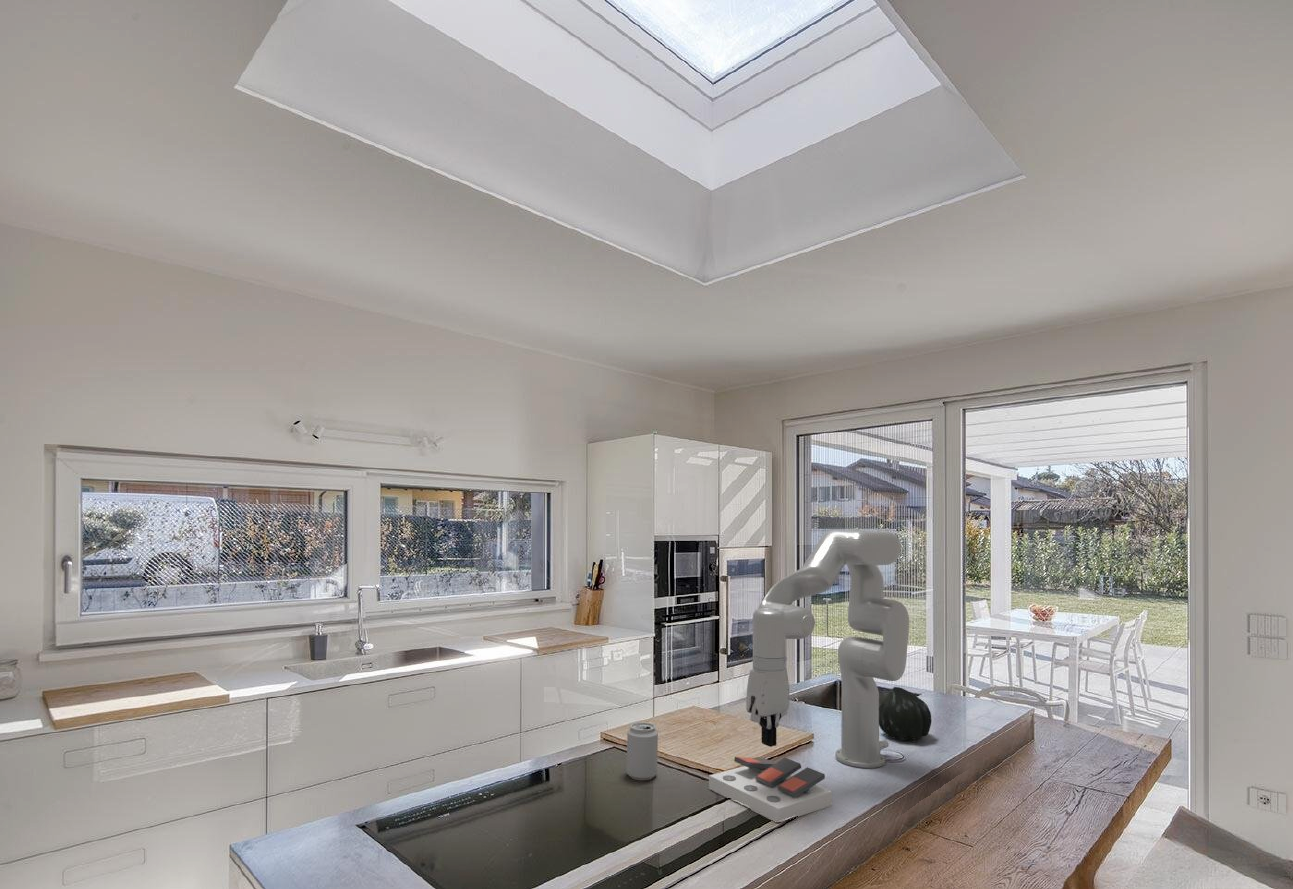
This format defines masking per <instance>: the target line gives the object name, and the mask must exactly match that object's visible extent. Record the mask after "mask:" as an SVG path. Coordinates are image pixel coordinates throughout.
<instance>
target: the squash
mask: <svg viewBox="0 0 1293 889" xmlns="http://www.w3.org/2000/svg"><path fill="white" fill-rule="evenodd" d="M930 710H931V709H930V708H929V705H928V704H927V703H926V702H925V701H924V700H923V699H921V698H920V697H918V696H917V695H916V694H914V693H913V692H911V691H909V690H907V689H905V688H903V687H900V686H899V687H898V686H894V687H892V688H891V690H890V691H889V693H888V694H887V695H886V696H885V697H884V699H883V700H882V701H881V702H880V704H879V729H881V731H883V733H884V734H886V735H887V736H888V738H889V737H890V738H892V739H899V740H900V741H902V742H907V741H908V740H909V741H910V742H917V741H919V740H920V739H921V738H925V737H926V736H928V735H929V733H930V729H931V726H932V714H931V713H932V712H931V711H930Z"/></svg>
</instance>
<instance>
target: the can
mask: <svg viewBox="0 0 1293 889" xmlns="http://www.w3.org/2000/svg"><path fill="white" fill-rule="evenodd" d="M626 735H627V736H626V738H627V740H626V769H625V770H626V771H625V772H626V774H627V775H628V776H629V777H630V778H631V779H633V780H637V781H649V780H652V779H654V777H655V776H656V775H657V774H658V752H659V751H658V749H659V748H658V747H659V746H658V745H659V732H658V730H657V729H656V725H655V724H654V723H652V722H648V721H647V722H646V721H645V722H644V721H640V722H633V723H631V724H630V728H628V731H627V734H626Z"/></svg>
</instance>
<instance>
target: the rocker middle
mask: <svg viewBox="0 0 1293 889" xmlns="http://www.w3.org/2000/svg"><path fill="white" fill-rule="evenodd" d="M774 763H775V764H773V765H772V766H770V767H769V768H767V769H766V770H764V771H763V772H761V773H760V774H758V775H757V776H755V778H756V781H758V782H760V783H762V784H765V785H767V786H769V787H771V788H772V787H774V786H775V785H776V784H778V783H779V782H781V781H782V780H784V779H785V778H787V777H788V776H790V775H791V774H792V775H794V773H796V772H797V771H799V770H800V769H802V764H801V763H800V762H797V761H794V760H792V759H789V758H787V757H783V758H781V759H780V760H778V761H776V762H774Z"/></svg>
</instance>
